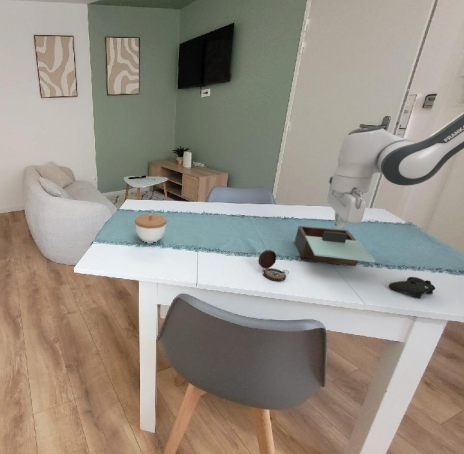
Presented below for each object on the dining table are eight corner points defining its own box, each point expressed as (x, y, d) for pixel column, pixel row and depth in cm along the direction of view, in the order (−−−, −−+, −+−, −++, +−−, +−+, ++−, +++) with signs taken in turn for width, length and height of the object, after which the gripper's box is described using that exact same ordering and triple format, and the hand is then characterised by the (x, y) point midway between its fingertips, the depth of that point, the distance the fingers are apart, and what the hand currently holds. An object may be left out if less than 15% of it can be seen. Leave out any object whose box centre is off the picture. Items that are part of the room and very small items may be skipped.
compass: (273, 283, 88) (277, 262, 85) (255, 270, 95) (258, 250, 92) (295, 278, 90) (300, 258, 87) (276, 266, 97) (280, 246, 94)
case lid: (357, 242, 94) (361, 232, 93) (375, 262, 83) (379, 251, 81) (305, 237, 100) (307, 227, 98) (314, 255, 88) (317, 244, 87)
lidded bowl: (132, 234, 126) (132, 211, 121) (160, 232, 127) (161, 208, 122) (138, 247, 114) (138, 222, 110) (169, 244, 115) (171, 219, 111)
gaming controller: (407, 277, 86) (431, 272, 81) (418, 295, 84) (444, 290, 79) (385, 284, 83) (409, 279, 78) (396, 302, 81) (421, 299, 76)
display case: (342, 247, 106) (347, 230, 104) (355, 266, 94) (362, 247, 92) (294, 242, 112) (298, 225, 109) (301, 259, 100) (306, 241, 97)
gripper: (378, 194, 77) (362, 241, 83) (351, 176, 94) (340, 216, 100) (348, 193, 79) (335, 238, 85) (328, 176, 97) (318, 214, 102)
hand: (338, 226), depth 92 cm, fingers closed
